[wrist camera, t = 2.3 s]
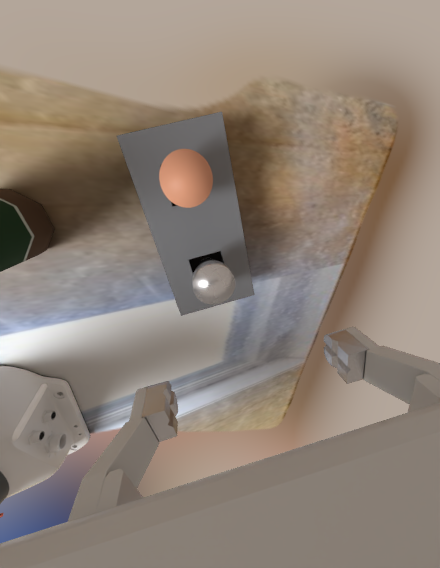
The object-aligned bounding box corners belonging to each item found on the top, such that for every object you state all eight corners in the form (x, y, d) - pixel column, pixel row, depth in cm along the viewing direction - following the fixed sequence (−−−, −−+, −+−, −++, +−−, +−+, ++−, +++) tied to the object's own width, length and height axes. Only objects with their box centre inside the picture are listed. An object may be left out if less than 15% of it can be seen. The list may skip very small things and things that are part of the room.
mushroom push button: (209, 198, 24) (218, 200, 19) (171, 208, 24) (169, 213, 19) (199, 154, 23) (205, 143, 17) (158, 164, 22) (151, 155, 17)
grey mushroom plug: (227, 277, 29) (238, 297, 23) (195, 286, 28) (199, 309, 23) (220, 245, 27) (230, 260, 21) (185, 255, 27) (187, 271, 21)
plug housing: (244, 280, 33) (254, 294, 29) (181, 298, 33) (181, 315, 28) (214, 126, 25) (221, 111, 20) (128, 146, 24) (116, 135, 20)
